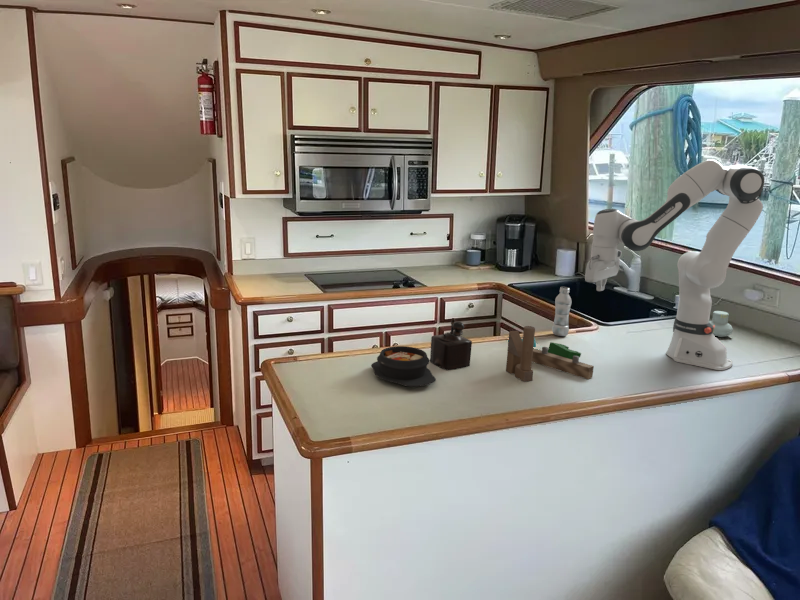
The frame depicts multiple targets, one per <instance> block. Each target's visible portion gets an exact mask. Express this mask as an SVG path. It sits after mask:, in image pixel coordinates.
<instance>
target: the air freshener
mask: <svg viewBox="0 0 800 600" xmlns="http://www.w3.org/2000/svg"><path fill="white" fill-rule="evenodd" d="M729 315H730V314H729V312H727V311H723V310H722V311H721V310H714V311H713V312H712V318H711V320H709V323H710V324H711V325H712V326H714V325H715V327H714V329H713V333H712V334H713V335H714V336H718V337H717V338H725V337H728V336H731V335H732V334H733V332H734V328H733V326H732V325H731V324H730V323H729Z"/></svg>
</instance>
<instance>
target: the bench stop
mask: <svg viewBox="0 0 800 600" xmlns="http://www.w3.org/2000/svg"><path fill="white" fill-rule="evenodd" d="M548 348H549V346H548V347H547V346H542V348H541V350H540V349H539V350H538V349H534V348H533V356H532V363H534V362H535V364H538V365H540V366H544V367H548V368H551V369H553V370H557V371H560V372H564V373H566V374H569V375H572V376H575V377H579V378H582V379H585V380H589V379H592V378H593V375H594V365H591V364H588V363H584V362H581V361H580V357H579V356H573V360H572V359H568V358H565V357H561V356H558V355H555V354H551V353H548Z"/></svg>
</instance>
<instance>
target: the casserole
mask: <svg viewBox="0 0 800 600" xmlns="http://www.w3.org/2000/svg"><path fill="white" fill-rule="evenodd" d="M376 360H377V361H374V362H372V363H371V365H370V366H371V368H372V369H373V372H374V374H375V376H376V377H377V378H379V379H381V380H384V381H386V382H390V383H394V384H399V385H402V386H404V387H410V388H411V387H412V388H416V387H424V386H428V385H431V384H433V383H435V382H436V381H437V378H436V377H435V376H434V375H433V374H432V372H431V370H430V369H429V368H428V365H429V363H431V362H430V358H429V357H428V354H427V353H426V351H424V350H422V349H420V348H416V347H412V346H404V345H402V346H401V345H400V346H399V345H398V346H389V347H385V348H384V349H382V350H380V353H379V355H378V356H377V357H376Z"/></svg>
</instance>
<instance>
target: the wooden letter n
mask: <svg viewBox="0 0 800 600" xmlns="http://www.w3.org/2000/svg"><path fill="white" fill-rule="evenodd" d="M535 334H536V327H534V326H532V325H525V326H524V327H523V333H522V336H521V334H520V332H519V330H510V331H508V338H509V340H508V342H507V354H506V364H505V371H506V373H509V374H510V375H514V377H515V378H517V379H518V380H520V381H521V382H524V383H525V382H531V381H533V377H534V370H533V369H532V364H533V362H532V356H533V346H534V337H535ZM521 337H522V338H523V342H522V339H521Z"/></svg>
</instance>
